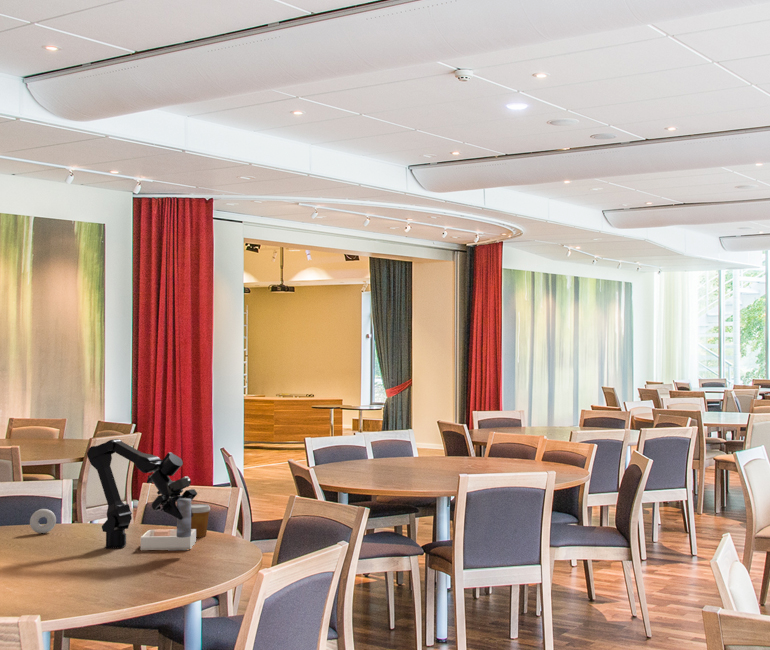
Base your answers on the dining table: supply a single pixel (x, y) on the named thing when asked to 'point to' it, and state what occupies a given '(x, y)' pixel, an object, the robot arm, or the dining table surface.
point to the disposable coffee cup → (200, 518)
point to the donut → (48, 526)
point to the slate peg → (184, 518)
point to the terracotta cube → (162, 532)
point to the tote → (167, 541)
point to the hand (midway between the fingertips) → (187, 517)
